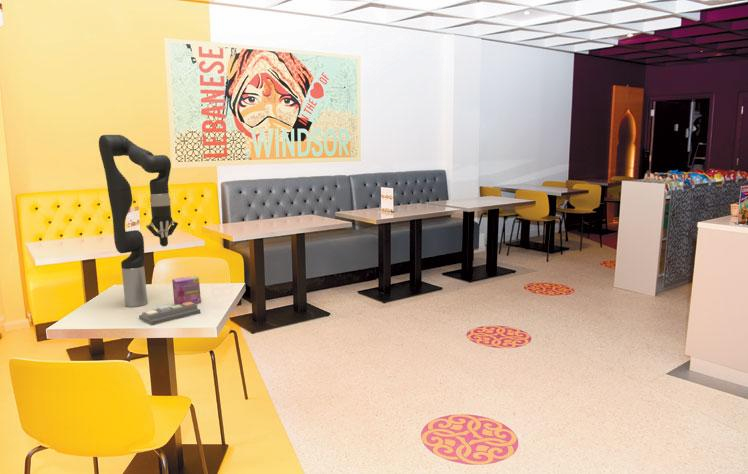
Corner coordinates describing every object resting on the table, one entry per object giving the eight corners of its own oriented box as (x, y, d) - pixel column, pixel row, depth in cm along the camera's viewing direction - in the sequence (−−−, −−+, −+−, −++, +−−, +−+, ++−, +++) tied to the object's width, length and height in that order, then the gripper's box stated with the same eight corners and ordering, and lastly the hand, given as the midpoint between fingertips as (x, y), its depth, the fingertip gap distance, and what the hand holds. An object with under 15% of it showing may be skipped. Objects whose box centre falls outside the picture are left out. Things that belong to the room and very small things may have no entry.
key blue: (157, 311, 230) (157, 306, 230) (166, 309, 233) (166, 304, 233) (161, 312, 228) (161, 308, 227) (170, 310, 230) (170, 306, 230)
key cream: (145, 316, 227) (144, 312, 227) (154, 314, 229) (154, 310, 229) (149, 318, 224) (148, 314, 224) (158, 316, 227) (158, 311, 227)
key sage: (170, 310, 234) (169, 306, 234) (178, 308, 237) (178, 304, 236) (174, 312, 231) (173, 308, 231) (182, 310, 234) (182, 306, 234)
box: (178, 307, 245) (175, 281, 243) (174, 304, 250) (171, 278, 248) (201, 303, 251) (199, 277, 249) (197, 300, 256) (195, 275, 254)
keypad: (139, 318, 230) (138, 311, 229) (187, 307, 244) (186, 300, 244) (151, 325, 221) (150, 317, 221) (200, 313, 236) (199, 305, 235)
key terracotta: (181, 307, 238) (181, 303, 237) (190, 305, 240) (189, 301, 240) (185, 309, 235) (185, 305, 235) (194, 307, 238) (194, 303, 237)
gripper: (172, 202, 236) (175, 242, 239) (140, 205, 227) (144, 247, 230) (180, 203, 230) (183, 244, 233) (148, 206, 221) (152, 249, 224)
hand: (164, 246), depth 231 cm, fingers closed
